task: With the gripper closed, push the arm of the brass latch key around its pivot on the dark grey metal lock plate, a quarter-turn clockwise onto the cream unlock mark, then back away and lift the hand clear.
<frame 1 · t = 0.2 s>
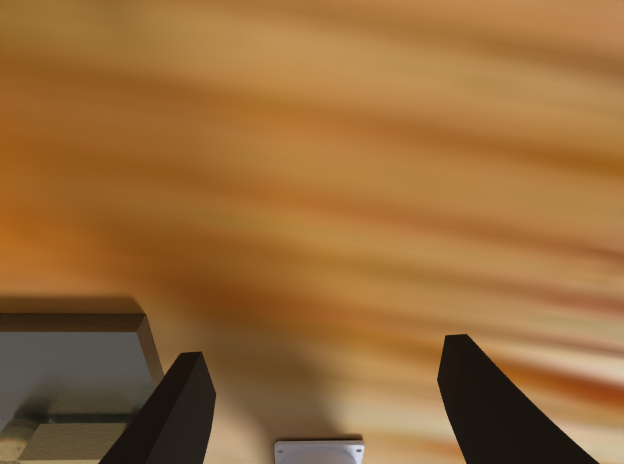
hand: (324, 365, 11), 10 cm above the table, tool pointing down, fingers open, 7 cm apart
lock plate: (44, 406, 27), on the table
latch key: (71, 447, 25), point 3 cm above the table, hinge at 0.0°
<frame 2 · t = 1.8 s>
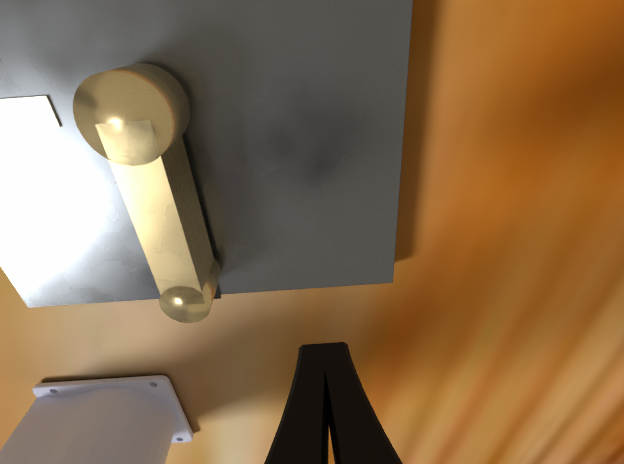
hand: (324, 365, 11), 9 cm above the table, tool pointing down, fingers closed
lock plate: (166, 96, 15), on the table
latch key: (167, 208, 14), point 3 cm above the table, hinge at 0.0°
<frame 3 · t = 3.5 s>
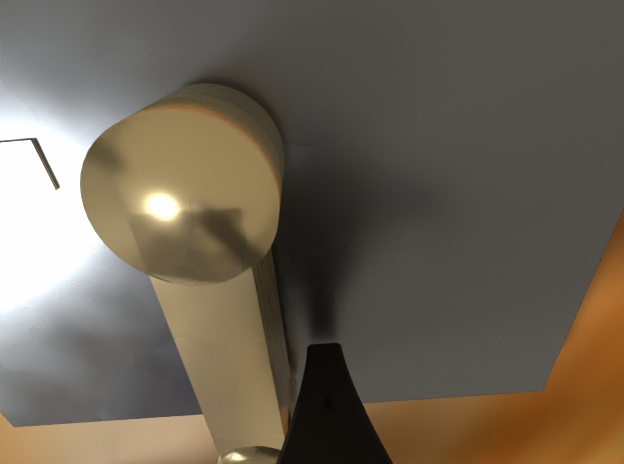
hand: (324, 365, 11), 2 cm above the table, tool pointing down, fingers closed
lock plate: (230, 133, 9), on the table
latch key: (237, 324, 8), point 3 cm above the table, hinge at -0.5°, touching gripper
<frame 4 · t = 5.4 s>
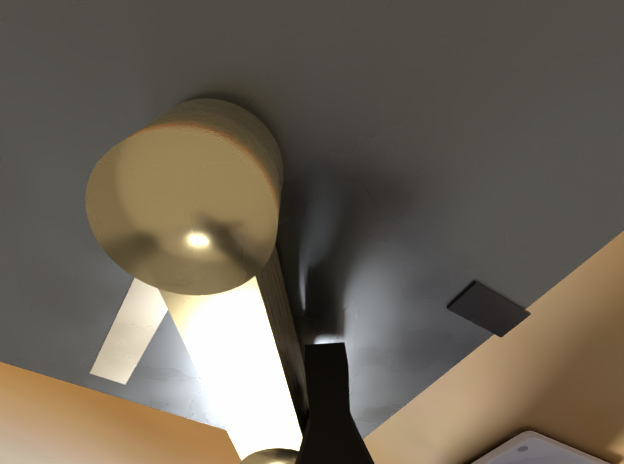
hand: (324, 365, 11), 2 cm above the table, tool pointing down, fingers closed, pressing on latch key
lock plate: (230, 143, 9), on the table
latch key: (249, 330, 9), point 3 cm above the table, hinge at -49.5°, touching gripper
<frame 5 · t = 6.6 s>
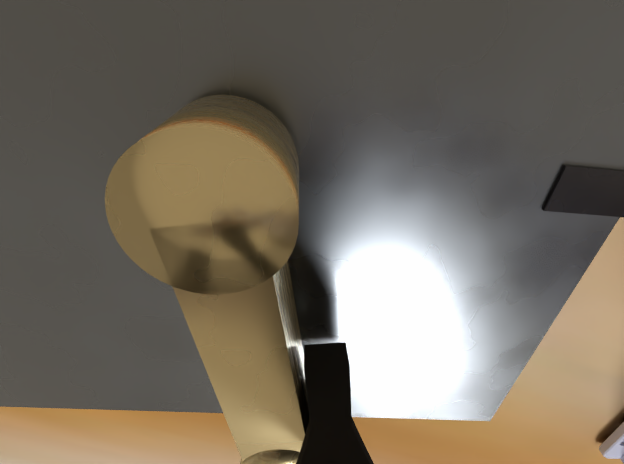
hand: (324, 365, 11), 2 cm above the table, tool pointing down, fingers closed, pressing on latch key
lock plate: (243, 141, 9), on the table
latch key: (256, 330, 9), point 3 cm above the table, hinge at -78.5°, touching gripper
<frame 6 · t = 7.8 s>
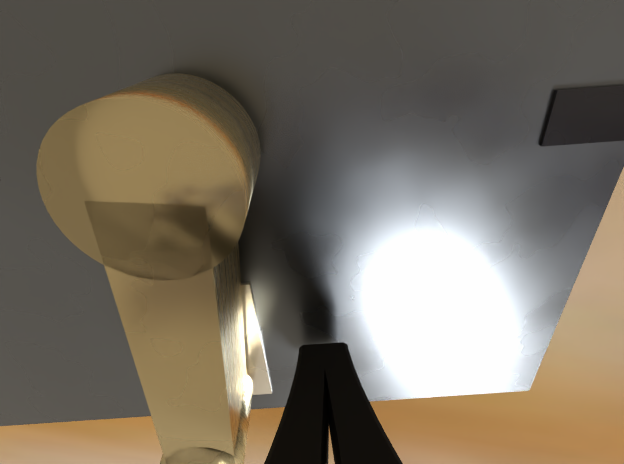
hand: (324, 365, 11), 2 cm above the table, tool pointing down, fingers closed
lock plate: (209, 126, 9), on the table
latch key: (195, 322, 8), point 3 cm above the table, hinge at -97.0°
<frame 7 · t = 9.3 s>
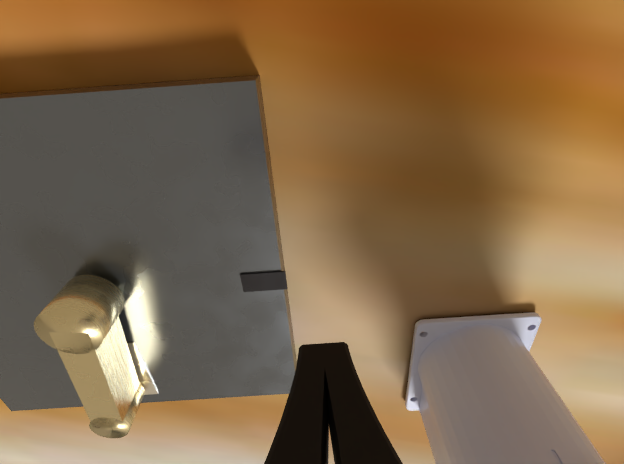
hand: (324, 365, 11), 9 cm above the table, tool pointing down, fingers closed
lock plate: (112, 274, 20), on the table
latch key: (101, 363, 19), point 3 cm above the table, hinge at -97.1°
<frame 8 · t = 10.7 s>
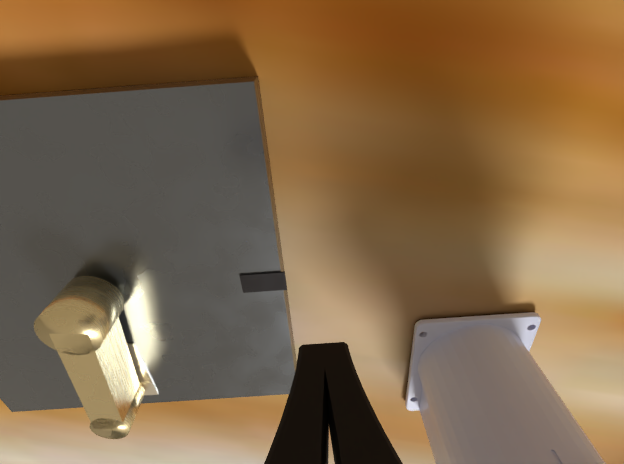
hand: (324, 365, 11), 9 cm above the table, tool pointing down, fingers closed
lock plate: (111, 275, 20), on the table
latch key: (101, 364, 20), point 3 cm above the table, hinge at -97.1°
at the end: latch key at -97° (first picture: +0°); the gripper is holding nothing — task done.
